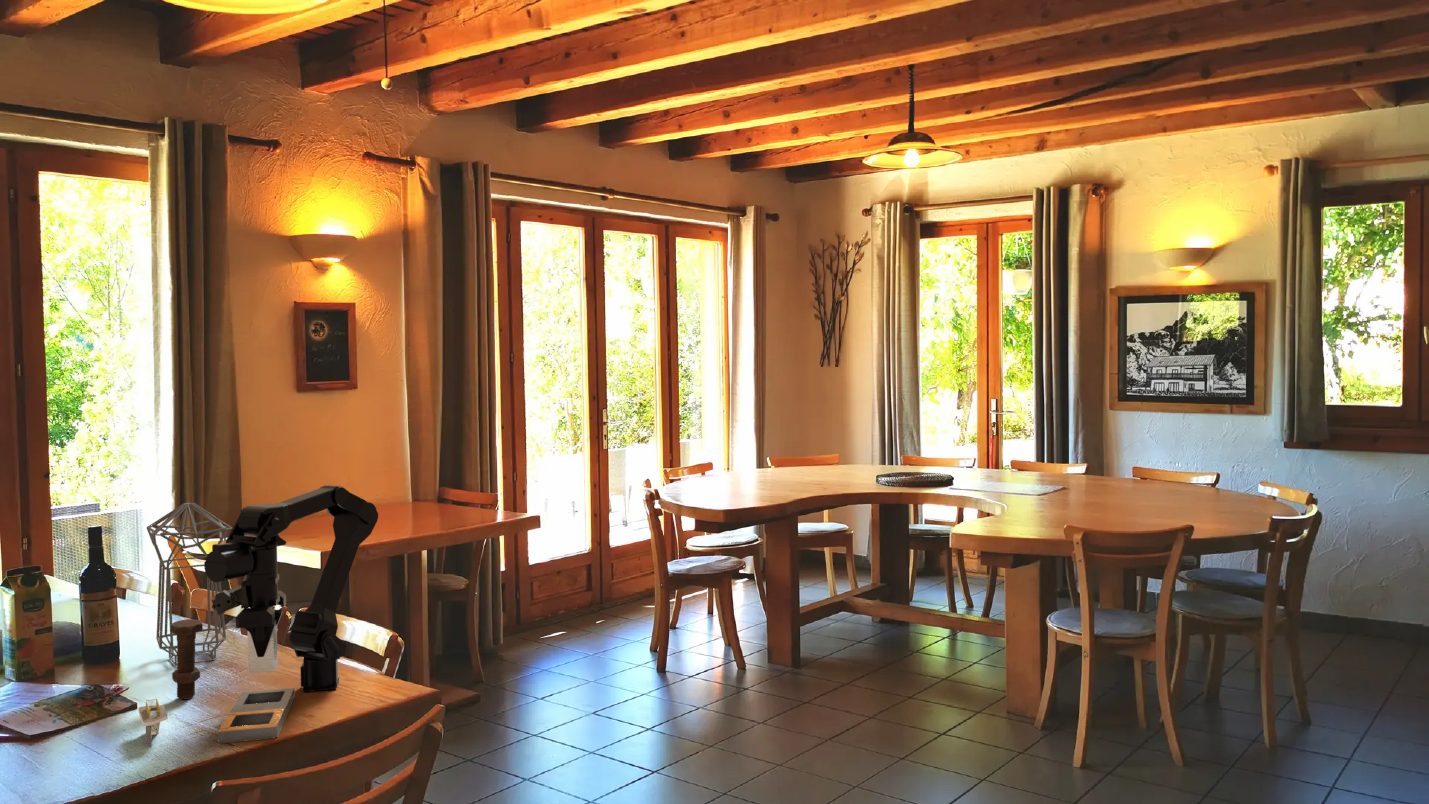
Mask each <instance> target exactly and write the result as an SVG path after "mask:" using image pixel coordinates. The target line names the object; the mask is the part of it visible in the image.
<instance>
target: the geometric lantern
mask: <svg viewBox="0 0 1429 804" xmlns="http://www.w3.org/2000/svg"><path fill="white" fill-rule="evenodd" d="M192 510H194V511H195V512H196V513H198V514H199V515H201V516H202V517H204V518H205V519H206V520H205V521H200V522H196V520H195V517H194V514H193V511H192ZM187 513H188V515H189V520H190V523H191V525H190V526H185V524H186V519H187V518H186V517H187ZM181 514H182V516H181ZM180 516H181V519H180V523H179V525H173V523H174V522H176V520H177V519H178V518H179V517H180ZM169 523H170V524H169ZM167 524H169V525H167ZM212 524H214V525H215V526H216V527H218V528H215V529H210V530H206V529H207V528H208V527H209V526H210V525H212ZM223 524H224V525H223ZM201 525H204V526H203V527H202V528H201V529H200V530H198V531H197V528H198V526H201ZM168 529H180V531H179V532H171V531H168ZM189 529H191V530H192V529H193V530H192V531H184V530H189ZM232 529H233V527H232V526H230V525H229V524H227V523H226V522H224V521H223V520H221V519H219V518H218V517H216V516H215V515H213V514H212V513H211V512H209V511H207V510H205V509H204V508H202V506H199V505H198V504H197V503H195V502H193V503H192V502H186V503H182V504H181V505H179V506H177V507H176V508H174V509H173V510H171V511H170V512H168V513H166V514H165V515H163V516H161V517H160V518H159V519H157V520H155V521H154V522H152V523H151V524H150V525H148V526H146V530H147V533H148V536H149V538H150V541H151V543H152V545H153V547H154V549H155V552H156V555H157V558H158V560H159V568H158V569H159V571H158V589H157V590H158V593H157V595H158V596H157V614H156V615H157V616H156V617H157V618H156V619H157V620H156V622H157V623H156V642H157V644H158V645H157V646H158V648H159V649H160V650H163V651H165V652H166V653H167V654H168V658H169V660H170V661H171V662H172V664H173V665H174V666H176V667H177V663H178V662H177V653H178V652H177V648H178V647H177V645H174V636H175V637H177V635H175V634H174V633H172V632H171V631H170V630H169V633H168V626H170V625H171V624H172V623H173V606H172V604H173V603H172V582H171V581H172V578H171V577H172V576H171V570H175V569H186V568H196V567H197V568H198V567H204V563H203V564H196V565H195V564H193V565H183V566H182V565H181V566H173V567H172V566H171V567H170V565H171V564H172V563H173V562H175V561H187V560H195V559H206V558H207V555H208V554H207V551H205V549H204V547H203V546H202V544H203V543H205V542H207V541H208V540H210V539H212V538H213V537H215V536H216V535H218V539H219V541H218V542H217V544H222V542H223V541H224V542H226V540H227V533H228V531H229V530H232ZM211 533H212V534H211ZM206 534H210V535H209V536H207V537H206V538H204V539H202V540H200V539H199V536H201V535H206ZM184 535H185V536H184ZM186 535H193V536H186ZM157 536H160V537H161V538H162V539H163V538H164V539H165V540H167V541H168V542H170V543H172V544H173V545H174V547H173V548H172V550H171V552H170V554H169V557H168V559H166V560H165V559H163V557H162V554H161V551H160V549H159V546H158V544H157V539H156V538H157ZM168 536H172V537H174V538H177V540H173V539H172V538H171V537H168ZM195 539H196V540H195ZM185 540H192V541H193V542H194V544H188V545H186V542H185ZM199 540H200V541H199ZM180 541H181V542H182V544H180ZM177 547H179V549H178V550H177V552H176V553H175V551H176V549H177ZM193 547H198V549H199V550H200V552H202V553H203V556H193V557H185V558H176V557H177V556H178V555H179V553H180V552H181V550H182V549H190V548H193ZM174 553H175V554H174ZM173 555H174V556H173ZM172 557H173V558H172ZM165 563H166V564H165ZM165 576H166V577H165ZM221 582H222V581H221ZM221 582H213V581H211V580H210V579H209V578H208V576H207V575H206V585H207V586H206V589H207V592H206V593H207V628H203V630H201V631H199V632H196V634H197V633H202V632H203V633H204V632H207V633H206V636H205V639H204V642H203V641H202V642H195V647H197V646H202V650H198V651H196V650H195V655H198V654H206V653H209V654H210V655H211V659H204V660H197V661H195V664H201V663H206V662H207V663H208V662H215V660H217V649H218V648H219V647H220V646H221V645H222V644H223V643H224V642H225V641H226V639H227V636H226V624H225V613H223V614H220V615H217V612H216V610H215V609H213V608H212V611H213V621H214V622H213V624H214V628H213V627H211V599H212V598H213V597H214V596H215V595H216V594H217V593H220V592H222V591H223V590H222V583H221ZM164 601H165V602H164ZM164 603H165V605H164ZM164 607H165V608H164ZM164 609H165V610H164ZM164 612H165V613H164ZM168 616H169V617H168ZM168 618H169V625H168ZM163 624H164V625H163ZM163 626H164V627H163ZM163 628H164V634H163ZM212 631H213V632H214V636H213V637H212V638H211V639H210V640H209V641H208V639H209V636H210V635H209V634H210V632H212ZM219 634H220V635H221V636H222V637H221V638H220V639H219ZM164 638H165V640H167V643H168V644H166V643H165V641H163V639H164ZM169 638H170V640H169ZM214 644H215V645H214ZM205 645H207V650H205V649H206V648H205ZM213 645H214V646H213ZM210 648H211V649H210ZM173 658H174V659H173Z"/></svg>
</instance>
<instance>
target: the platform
mask: <svg viewBox="0 0 1429 804" xmlns="http://www.w3.org/2000/svg"><path fill="white" fill-rule="evenodd" d="M154 701H155V704H154ZM137 710H138V711H137V712H138V714H139V716H140V720H141V722H142V726H143V727H145V735H146V737H147V740H148V744H149V747H151V748H152V735H156V736H157V735H158V734H159V731H160V726H161V722H164V721H167V720H168V719H169V717H168V716H169V715H168V711H167V710H166V707H165V706H164V705H162V704H160V703H159V701H158V698H154V699H147V700H145V706H139V707H138V709H137ZM154 711H156V716H151V713H152V712H154Z"/></svg>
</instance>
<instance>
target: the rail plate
mask: <svg viewBox="0 0 1429 804" xmlns="http://www.w3.org/2000/svg"><path fill="white" fill-rule="evenodd" d="M295 697H296V695H295V687H291V688H290V687H289V688H281V689H280V688H279V689H278V688H277V689H266V690H253V691H242V692H241V693H240V695H239V696H238V699H237V700H236V701H235V703H234V705H233V707H232V709H230V712H228V713H227V715H226V717H225V718H224V720H223V722H222V723H221V725H220V727H219V728H218V730H217V743H218V744H226V743H237V742H238V741H240V742H246V741H245V740H251V741H259V740H269V739H268V738H272V739H274V738H273V737H277V736H278V737H279V735H280V733H279V732H281V730H282V728H283V726H284V723H285V722H286V721H285V720H286V719H285V718H287V717H286V716H288V714H289V712H290V710H289V709H291V708H290V707H292V705H293V703H294V701H295ZM293 700H294V701H293ZM268 702H269V703H268ZM292 702H293V703H292ZM256 703H257V704H256ZM288 711H289V712H288ZM242 725H243V726H242ZM244 725H248V726H244ZM282 725H283V726H282ZM236 726H237V727H236ZM278 734H279V735H278ZM278 737H277V738H278ZM236 741H237V742H236Z"/></svg>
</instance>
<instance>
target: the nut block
mask: <svg viewBox="0 0 1429 804" xmlns="http://www.w3.org/2000/svg"><path fill="white" fill-rule="evenodd" d="M246 631H247V630H246ZM246 634H247V667H248V669H247V670H248V671H247V672H248V674H250V675H251V674H263V673H274V672H275V671H276V670H277V667H278V666H279V665H278V663H279V662H278V661H279V660H278V625H277V624H275V627H274V630H273V633H272V635H271V638H270V641H269V644H268V647H267V650H266V652H265V655H264V657H258V656H257V653H256V650H255V647H254V643H253V640H252V637H251V634H250V632H249V631H247V633H246Z"/></svg>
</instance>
